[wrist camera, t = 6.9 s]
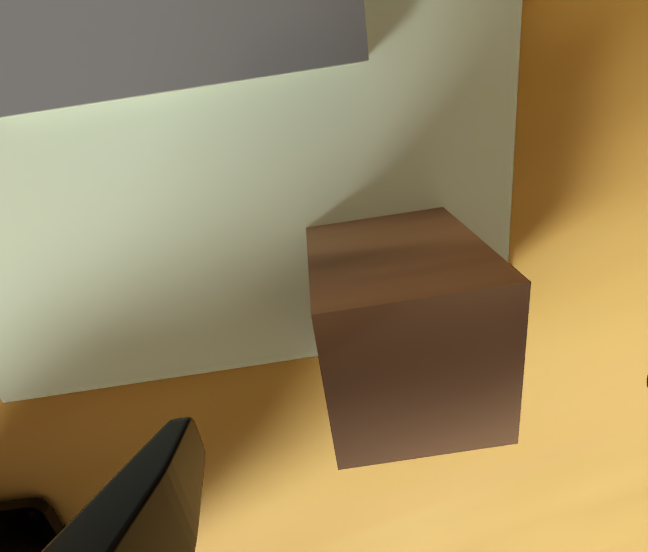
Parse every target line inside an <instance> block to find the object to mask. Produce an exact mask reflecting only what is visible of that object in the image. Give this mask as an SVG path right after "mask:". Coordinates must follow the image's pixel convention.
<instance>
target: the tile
mask: <svg viewBox="0 0 648 552" xmlns="http://www.w3.org/2000/svg"><path fill="white" fill-rule="evenodd" d="M368 60H369V55H368V43H367V31H366V19H365V7H364V0H0V118H7V117H13V116H20V115H26V114H33V113H39V112H46V111H52V110H59V109H65V108H72V107H78V106H85V105H91V104H98V103H104V102H111V101H117V100H124V99H130V98H137V97H144V96H150V95H157V94H163V93H170V92H176V91H183V90H189V89H196V88H202V87H209V86H215V85H222V84H228V83H235V82H241V81H248V80H254V79H261V78H267V77H274V76H280V75H287V74H293V73H300V72H306V71H313V70H319V69H326V68H332V67H339V66H345V65H352V64H358V63H362V62H365V61H368Z"/></svg>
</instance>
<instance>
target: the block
mask: <svg viewBox="0 0 648 552" xmlns="http://www.w3.org/2000/svg"><path fill="white" fill-rule="evenodd" d="M306 239H307V256H308V273H309V290H310V308H311V318H312V324H313V330H314V335H315V341H316V347H317V352H318V358H319V364H320V369H321V375H322V381H323V386H324V392H325V398H326V403H327V409H328V415H329V420H330V426H331V432H332V437H333V443H334V449H335V455H336V460H337V466H338V470H341V469H348V468H355V467H361V466H368V465H375V464H382V463H389V462H395V461H402V460H409V459H416V458H422V457H429V456H436V455H443V454H449V453H456V452H463V451H470V450H477V449H483V448H490V447H497V446H504V445H510V444H517V443H518V435H519V423H520V411H521V399H522V386H523V374H524V362H525V350H526V337H527V325H528V313H529V301H530V288H531V281H529V280H528V279H527V278H526V277H525V276H524V275H522V274H521V273H520V272H519V271H518V270H517V269H515V268H514V267H513V266H512V265H511V264H510V263H508V262H507V261H506V260H505V259H504V258H502V257H501V256H500V255H499V254H498V253H497V252H495V251H494V250H493V249H492V248H491V247H490V246H488V245H487V244H486V243H485V242H484V241H483V240H481V239H480V238H479V237H478V236H477V235H475V234H474V233H473V232H472V231H471V230H470V229H468V228H467V227H466V226H465V225H464V224H463V223H461V222H460V221H459V220H458V219H457V218H456V217H454V216H453V215H452V214H451V213H450V212H448V211H447V210H446V209H445V208H444V207H439V208H432V209H426V210H419V211H412V212H406V213H399V214H393V215H386V216H379V217H373V218H366V219H360V220H353V221H346V222H340V223H333V224H327V225H320V226H313V227H307V228H306Z"/></svg>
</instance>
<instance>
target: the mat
mask: <svg viewBox="0 0 648 552" xmlns="http://www.w3.org/2000/svg"><path fill="white" fill-rule="evenodd" d="M522 1H523V0H364V7H365V19H366V31H367V43H368V55H369V60H368V61H365V62H362V63H358V64H352V65H345V66H339V67H332V68H326V69H319V70H313V71H306V72H300V73H293V74H287V75H280V76H274V77H267V78H261V79H254V80H248V81H241V82H235V83H228V84H222V85H215V86H209V87H202V88H196V89H189V90H183V91H176V92H170V93H163V94H157V95H150V96H144V97H137V98H130V99H124V100H117V101H111V102H104V103H98V104H91V105H85V106H78V107H72V108H65V109H59V110H52V111H46V112H39V113H33V114H26V115H20V116H13V117H7V118H0V399H1V400H2V402H3V403H7V402H14V401H21V400H27V399H34V398H41V397H47V396H54V395H61V394H67V393H74V392H81V391H87V390H94V389H101V388H107V387H114V386H121V385H128V384H134V383H141V382H148V381H154V380H161V379H168V378H174V377H181V376H188V375H194V374H201V373H208V372H215V371H221V370H228V369H235V368H241V367H248V366H255V365H261V364H268V363H275V362H281V361H288V360H295V359H302V358H308V357H315V356H318V352H317V347H316V341H315V335H314V330H313V324H312V318H311V308H310V290H309V273H308V256H307V239H306V228H307V227H313V226H320V225H327V224H333V223H340V222H346V221H353V220H360V219H366V218H373V217H379V216H386V215H393V214H399V213H406V212H412V211H419V210H426V209H432V208H439V207H444V208H445V209H446V210H447V211H448V212H450V213H451V214H452V215H453V216H454V217H456V218H457V219H458V220H459V221H460V222H461V223H463V224H464V225H465V226H466V227H467V228H468V229H470V230H471V231H472V232H473V233H474V234H475V235H477V236H478V237H479V238H480V239H481V240H483V241H484V242H485V243H486V244H487V245H488V246H490V247H491V248H492V249H493V250H494V251H495V252H497V253H498V254H499V255H500V256H501V257H502V258H504V259H505V260H506V261H507V262H508V258H509V240H510V222H511V203H512V185H513V166H514V148H515V130H516V111H517V93H518V75H519V56H520V38H521V20H522Z"/></svg>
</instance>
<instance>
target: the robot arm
mask: <svg viewBox="0 0 648 552" xmlns="http://www.w3.org/2000/svg"><path fill="white" fill-rule="evenodd" d="M647 387H648V376H647ZM204 465H205V450H204V446H203V443H202V440H201V438H200V435H199V432H198V429H197V426H196V424H195V421H194V420H193V419H192V418H190V417H185V418H179V419H173V420H170V421H169V422H168V423H167V424H166V425H165V426H164V427H163V428H162V429H161V430H160V431H159V432H158V433H157V434H156V435H155V436H154V437H153V438H152V439H151V440H150V441H149V442H148V443H147V444H146V445H145V446H144V447H143V448H142V449H141V450H140V451H139V452H138V453H137V454H136V455H135V456H134V457H133V458H132V459H131V460H130V461H129V462H128V463H127V464H126V466H125V467H124V468H123V469H122V470H121V471H120V472H119V473H118V474H117V475H116V476H115V477H114V478H113V479H112V480H111V481H110V482H109V483H108V484H107V485H106V486H105V487H104V488H103V489H102V490H101V491H100V492H99V493H98V494H97V495H96V496H95V497H94V498H93V499H92V500H91V501H90V502H89V503H88V504H87V505H86V506H85V507H84V508H83V509H82V510H81V511H80V513H79V514H78V515H77V516H76V517H75V518H74V519H73V520H72V521H71V522H70V523H69V524H68V525H67V526H66V527H65V528H64V527H63V526H62V524H61V522H60V521H59V519H58V518H57V516H56V514H55V513H54V511H53V510H52V508H51V506H50V505H49V504H48V503H47V502H46V501H45V500H43V499H39V498H27V499H21V500H14V501H7V502H0V552H195V547H196V542H197V534H198V525H199V515H200V505H201V495H202V485H203V475H204Z"/></svg>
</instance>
